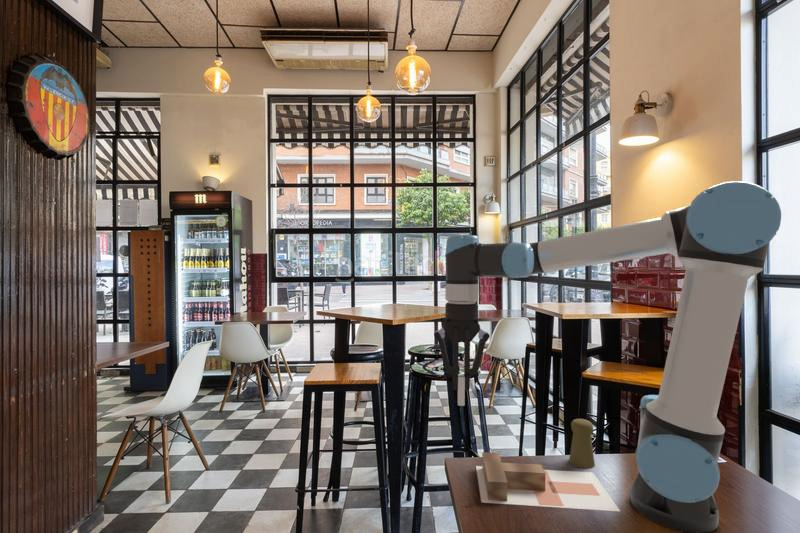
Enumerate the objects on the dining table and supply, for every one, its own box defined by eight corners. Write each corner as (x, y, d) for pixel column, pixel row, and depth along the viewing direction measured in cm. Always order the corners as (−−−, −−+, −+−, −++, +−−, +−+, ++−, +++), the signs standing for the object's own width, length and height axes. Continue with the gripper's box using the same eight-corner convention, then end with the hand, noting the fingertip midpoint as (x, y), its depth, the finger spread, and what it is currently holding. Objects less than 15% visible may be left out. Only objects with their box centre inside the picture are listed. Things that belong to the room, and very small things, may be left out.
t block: (536, 471, 101) (536, 454, 101) (550, 504, 87) (551, 485, 87) (482, 468, 103) (482, 452, 103) (488, 500, 89) (488, 481, 89)
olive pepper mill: (597, 470, 102) (598, 425, 102) (571, 467, 103) (571, 423, 103) (591, 459, 108) (591, 417, 108) (567, 456, 109) (567, 415, 109)
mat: (592, 473, 101) (592, 472, 101) (620, 512, 85) (620, 511, 85) (475, 466, 104) (475, 465, 104) (481, 503, 88) (481, 502, 88)
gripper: (488, 301, 99) (488, 399, 99) (433, 300, 101) (433, 397, 101) (492, 304, 92) (491, 410, 92) (432, 303, 93) (432, 408, 93)
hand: (461, 403), depth 96 cm, fingers closed
